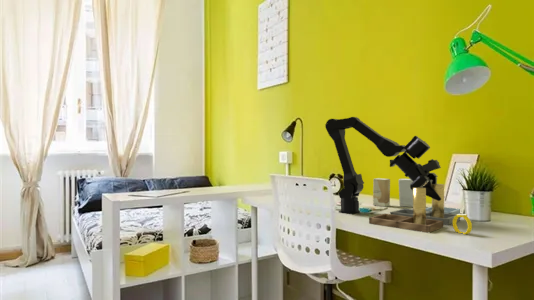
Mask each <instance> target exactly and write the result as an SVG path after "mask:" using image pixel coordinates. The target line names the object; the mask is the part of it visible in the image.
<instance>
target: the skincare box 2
mask: <svg viewBox="0 0 534 300" xmlns="http://www.w3.org/2000/svg"><path fill="white" fill-rule="evenodd" d="M412 182H413V181H412V180H411V179H410V178H399V179H398V193H399V194H398V197H399V199H398V200H399V201H398V202H399V207H408V208H410V207H411V208H413V190H412V189H411V188H410V184H411V183H412Z"/></svg>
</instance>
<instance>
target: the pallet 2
mask: <svg viewBox="0 0 534 300" xmlns="http://www.w3.org/2000/svg"><path fill="white" fill-rule="evenodd" d="M389 214H393V215H400V216H408V217H413V208H411V209H410V208H401V209H398V210H397V209H396V210H393V211H390V212H389ZM455 216H457V215H456V214H448V213H444V218H438V217H432V212H430V211H426V219H431V220H439V221H443V226H450V225H453V219H454V217H455ZM457 221H458V222H460V221H461V217H458V219H457Z"/></svg>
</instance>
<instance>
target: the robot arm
mask: <svg viewBox="0 0 534 300" xmlns="http://www.w3.org/2000/svg"><path fill="white" fill-rule="evenodd" d="M324 125H325V126H324V127H325V130H326V132H327V134H328V136H329V137H330V138H331V139H332V141H333V143H334V146H335V150H336V153H337V156H338V159H339V162H340V166H341V169H342V173H343V178H342V182H343V183H342V184H343V188H342V189H341V190H340V191H339V192H338V193H337V194H338V196H339V198H340V210H338V213H344V214H350V215H351V214H357V213H360V212H361V210H360V202H359V195H360V193H361V192H362V191H363V190H364V184H365V182H364V180H363V176H362V173H357V172H356V170H355V167H354V163H353V160H352V157H351V154H350V151H349V148H348V146H347V141H346V130H347V129H351V128H353V129H354V130H355V131H356V132H358V133H359V134H361V135H362V136H364V137H365V138H367V140H369V141H370V142H372V143H373V144H374V145H375V146H376V148H377V150H379V152H380V153H382V155H383V156H385V157H387V158H391V157H392V158H393V157H395V158H393V159H389V167H390V168H392V167H395V166H397V167H398V168H399V170H400V171H402V173H404V176H405V178H408V179H411V180H412V181H413V182H412V183H411V184H410V188H411V189H412V190H413V188H415V187H420V188H426V197H428V198H431V199H432V198H433V199H435V200H438V201H440V200H441V197H440V196H439V195H438V193H437V192H436V191H435V189H434V188H433V187H432V184H438V174H437V173H435V172H433V171H435V170H438V169H441V168H442V167H441V165H440V162H439V160H438V159H433V158H432V159H430V160H428V161H427V163H425V164H423V165H422V164H421V163H417V162H416V161H415V160H416V159H420V158H421V157H422V156H423V155H425V153H426V152H428V151H429V150H430V149H431V147H430V145H429V144H428V143H427V142H426V141H424V140H423V139H422V138H420V137H419V136H418V135H414V136H413V137H412V138H411V140H410V141H409V142H407V144H406V145H404V144H402V145H400V144H399V143H398V142H396V141H395V140H392V139H391V138H388V137H386V136H383V135H381V134H380V133H378V132H377V131H376V130H375V129H373V128H371V127H370V126H369V125H368V124H366V123H365V122H363V121H362V120H361V119H360V118H359V117H357V116H350V117H348V118H346V117H345V118H340V119H336V118H329V119H328V120H326V123H325V124H324ZM400 153H402V154H400Z"/></svg>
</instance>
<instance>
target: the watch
mask: <svg viewBox="0 0 534 300" xmlns="http://www.w3.org/2000/svg"><path fill="white" fill-rule="evenodd" d="M458 217H460V218H463V219H464V220H465V221H466V223H467V229H466V231H465V232H464V231H461V230H460V229H459V227H458V225H457V223H458V222H457V219H458ZM452 227H453V229H454V231H455V232H456V233H457V232H458V233H457V234H461V233H463V234H462V235H464V234H465V235H468V234H470V233H471V232H472V229H473V223H472V221H471V219H470V218H469V216H468V214H466V213H462V214H457V216H455V217H454V219H453V223H452Z"/></svg>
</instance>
